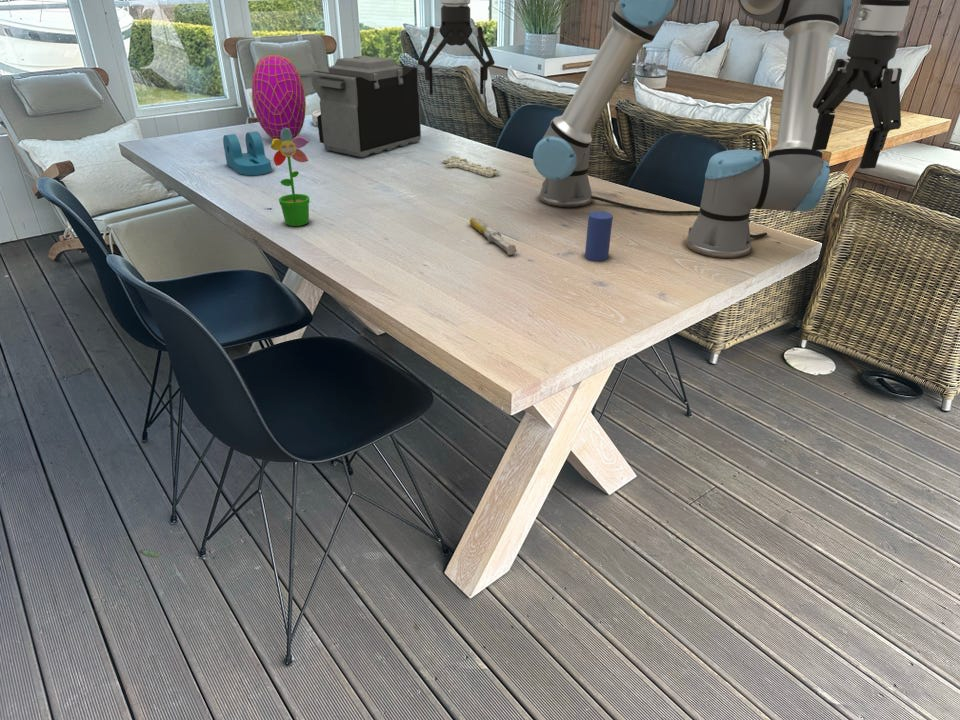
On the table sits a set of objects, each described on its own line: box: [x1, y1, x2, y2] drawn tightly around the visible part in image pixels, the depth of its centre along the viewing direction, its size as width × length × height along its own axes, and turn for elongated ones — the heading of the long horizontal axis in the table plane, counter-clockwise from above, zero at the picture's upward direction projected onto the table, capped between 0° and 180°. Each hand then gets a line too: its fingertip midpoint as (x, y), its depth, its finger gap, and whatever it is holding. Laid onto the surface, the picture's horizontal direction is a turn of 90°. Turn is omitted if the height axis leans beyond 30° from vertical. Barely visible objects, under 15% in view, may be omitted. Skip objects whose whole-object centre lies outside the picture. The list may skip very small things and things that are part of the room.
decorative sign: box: [442, 155, 499, 178], centre depth 232 cm, size 26×1×10 cm
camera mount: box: [222, 131, 272, 176], centre depth 226 cm, size 18×10×10 cm, turn 35°
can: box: [584, 210, 614, 262], centre depth 163 cm, size 6×6×10 cm
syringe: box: [469, 216, 518, 256], centre depth 174 cm, size 25×4×3 cm, turn 21°
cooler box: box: [310, 55, 422, 159], centre depth 250 cm, size 37×22×30 cm, turn 144°
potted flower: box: [270, 128, 310, 227], centre depth 177 cm, size 9×8×25 cm
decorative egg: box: [251, 54, 307, 141], centre depth 257 cm, size 19×19×30 cm
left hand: (456, 93), depth 186 cm, fingers open, 13 cm apart
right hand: (841, 158), depth 128 cm, fingers open, 13 cm apart
